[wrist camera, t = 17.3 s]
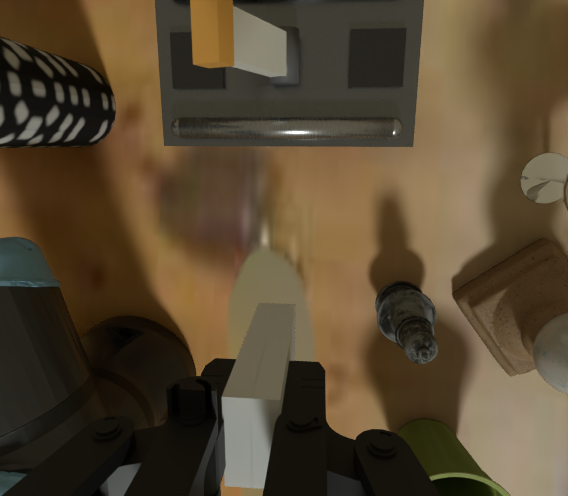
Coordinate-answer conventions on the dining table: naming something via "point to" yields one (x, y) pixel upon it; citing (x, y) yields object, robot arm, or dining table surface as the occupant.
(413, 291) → the salt shaker
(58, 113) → the spotted tube
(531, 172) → the wineglass
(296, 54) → the breaker lever
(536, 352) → the candle holder
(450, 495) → the plant pot
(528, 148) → the dining table surface
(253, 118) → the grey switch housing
